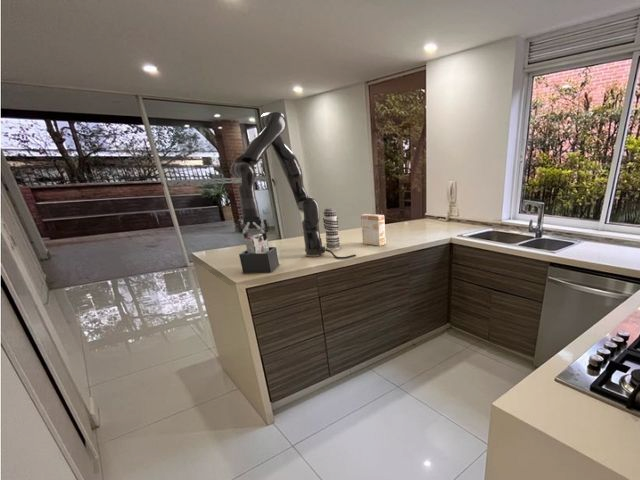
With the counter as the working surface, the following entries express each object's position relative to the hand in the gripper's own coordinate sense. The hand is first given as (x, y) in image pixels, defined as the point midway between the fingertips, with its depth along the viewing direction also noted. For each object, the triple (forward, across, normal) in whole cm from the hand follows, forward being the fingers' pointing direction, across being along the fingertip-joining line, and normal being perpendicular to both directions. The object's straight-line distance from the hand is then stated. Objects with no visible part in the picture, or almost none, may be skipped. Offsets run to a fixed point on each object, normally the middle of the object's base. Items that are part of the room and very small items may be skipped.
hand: (256, 240), depth 171 cm
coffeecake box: (+15, -57, -55) cm, 81 cm away
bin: (+15, 0, 0) cm, 15 cm away
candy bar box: (+14, 0, 0) cm, 14 cm away
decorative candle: (+15, -31, -44) cm, 56 cm away
